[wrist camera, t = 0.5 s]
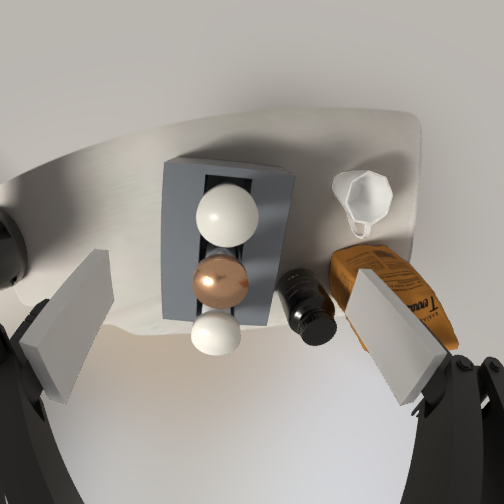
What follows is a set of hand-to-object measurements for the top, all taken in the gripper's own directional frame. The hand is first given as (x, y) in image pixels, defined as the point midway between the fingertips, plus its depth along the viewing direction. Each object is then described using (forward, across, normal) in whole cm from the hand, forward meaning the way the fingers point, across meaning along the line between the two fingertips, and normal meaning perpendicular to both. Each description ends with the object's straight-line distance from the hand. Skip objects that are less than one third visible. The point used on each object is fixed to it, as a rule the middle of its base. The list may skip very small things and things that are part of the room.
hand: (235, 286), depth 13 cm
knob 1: (+20, 0, 0) cm, 20 cm away
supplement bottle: (+26, +13, -15) cm, 33 cm away
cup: (+26, +18, +1) cm, 31 cm away
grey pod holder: (+26, 0, -7) cm, 27 cm away
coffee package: (+26, +24, -11) cm, 37 cm away
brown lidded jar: (+20, 0, -7) cm, 21 cm away
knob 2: (+20, 0, -13) cm, 24 cm away
